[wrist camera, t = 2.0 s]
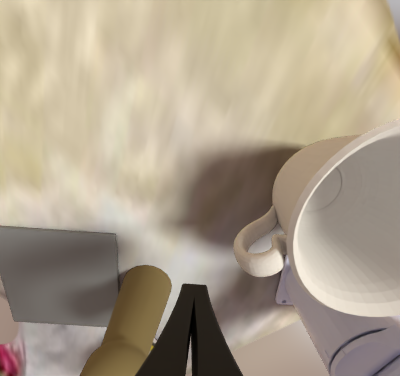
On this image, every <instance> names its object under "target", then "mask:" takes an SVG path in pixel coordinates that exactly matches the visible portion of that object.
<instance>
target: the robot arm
mask: <svg viewBox="0 0 400 376" xmlns="http://www.w3.org/2000/svg"><path fill="white" fill-rule="evenodd" d="M275 301H276V303H277V304H283V305H294V307H295V309H296V311H297V313H298V315H299V317H300V319H301V320H302V322H303V324H304V326H305V328H306V330H307V332H308V334H309V336H310V338H311V340H312V342H313V344H314V346H315V348H316V349H317V351H318V353H319V355H320V357H321V359H322V361H323V363H324V365H325V367H326V369H327V371H328V373H329V374H330V376H400V315H396V316H387V317H367V316H357V315H352V314H347V313H343V312H340V311H337V310H333V309H331V308H329V307H326V306H324V305H322V304H320V303H319V302H317V301H316V300H314V299H313V298H311V297H310V296H309V295H308V294H307V293H306V292H305V291H304V290H303V289H302V287H301V286H300V285H299V283H298V282H297V280H296V278H295V276H294V275H293V272H292V270H291V267H290V264H289V259H288V255H286V257H285V261H284V265H283V269H282V273H281V277H280V281H279V285H278V289H277V293H276V297H275ZM190 337H191V350H192V376H243V374H242V373H241V371H240V369H239V367H238V365H237V363H236V361H235V359H234V358H233V356H232V354H231V352H230V350H229V347H228V345H227V343H226V341H225V339H224V336H223V334H222V332H221V329H220V327H219V325H218V322H217V319H216V317H215V314H214V311H213V308H212V305H211V302H210V298H209V294H208V290H207V286H206V285H197V284H183V285H182V287H181V291H180V294H179V297H178V300H177V302H176V305H175V307H174V309H173V311H172V313H171V316H170V318H169V320H168V322H167V324H166V326H165V327H164V329H163V331H162V333H161V335H160V337H159V338H158V340H157V342H156V344H155V345H154V347H153V349H152V350H151V352H150V353H149V355H148V357H147V358H146V360H145V361H144V363H143V364H142V366H141V367H140V369H139V370H138V372H137V373H136V374H135V376H185V374H186V367H187V359H188V352H189V344H190Z"/></svg>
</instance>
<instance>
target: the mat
mask: <svg viewBox="0 0 400 376" xmlns="http://www.w3.org/2000/svg"><path fill="white" fill-rule="evenodd" d="M0 275H1V278H2V282H3V285H4V289H5V292H6V295H7V299H8V302H9V306H10V309H11V312H12V316H13V319H14V321H17V322H32V323H48V324H64V325H80V326H96V327H108V324H109V321H110V318H111V315H112V312H113V309H114V306H115V303H116V300H117V297H118V294H119V291H120V289H119V274H118V259H117V243H116V234H109V233H95V232H81V231H67V230H53V229H38V228H24V227H10V226H0Z"/></svg>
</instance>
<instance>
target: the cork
mask: <svg viewBox="0 0 400 376" xmlns="http://www.w3.org/2000/svg"><path fill="white" fill-rule="evenodd" d="M171 287H172V285H171V281H170V278H169V277H168V275H167V274H166V273H165V272H163V271H162V270H161V269H159V268H156V267H154V266H148V265H142V266H137V267H134V268H132V269H131V270H129V271H128V272H127V273H126V275H125V277H124V279H123V282H122V285H121V288H120V291H119V294H118V297H117V300H116V303H115V306H114V309H113V312H112V315H111V318H110V321H109V324H108V327H107V330H106V333H105V336H104V339H103V342H102V345H101V347H99V348H98V349H97V350H95V351H94V352H93V353H92V355H91V356H90V357H89V359H88V360H87V362H86V364H85V366H84V368H83V370H82V372H81V374H80V376H135V374H136V373H137V372H138V370H139V369H140V367H141V366H142V364H143V363H144V361H145V360H146V358H147V357H148V355H149V352H150V349H151V346H152V343H153V340H154V338H155V335H156V332H157V329H158V326H159V324H160V321H161V318H162V315H163V312H164V309H165V307H166V304H167V301H168V298H169V295H170V293H171Z"/></svg>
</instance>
